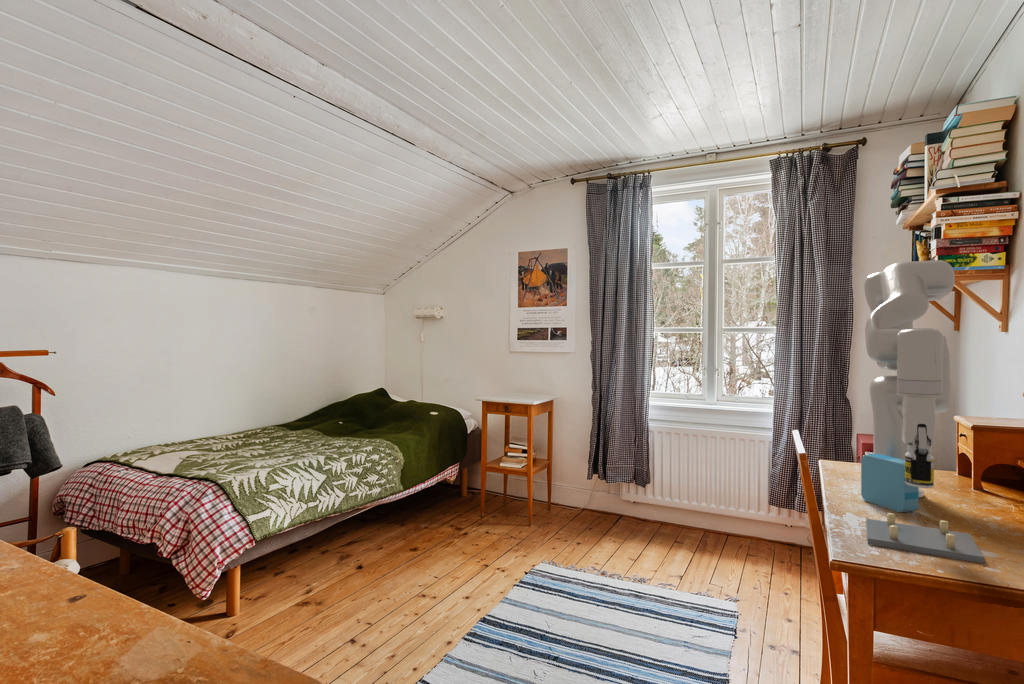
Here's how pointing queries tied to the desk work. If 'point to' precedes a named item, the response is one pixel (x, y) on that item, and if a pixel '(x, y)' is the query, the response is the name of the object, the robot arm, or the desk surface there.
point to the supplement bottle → (908, 470)
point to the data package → (887, 483)
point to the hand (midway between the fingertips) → (919, 476)
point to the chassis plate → (923, 539)
